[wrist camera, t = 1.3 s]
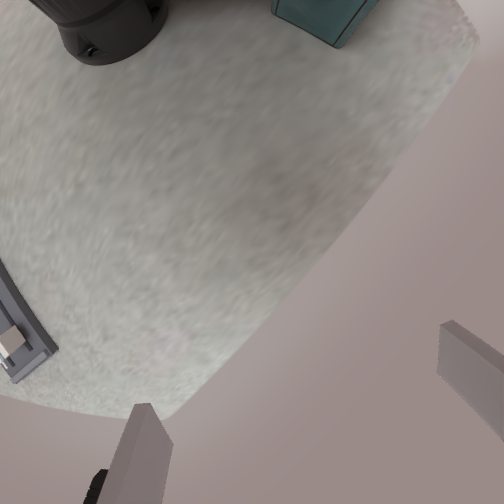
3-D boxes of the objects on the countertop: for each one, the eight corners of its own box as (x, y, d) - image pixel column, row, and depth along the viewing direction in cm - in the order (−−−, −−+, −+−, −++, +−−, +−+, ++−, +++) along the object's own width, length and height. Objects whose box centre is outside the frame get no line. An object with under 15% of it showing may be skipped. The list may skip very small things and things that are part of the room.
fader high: (8, 332, 34) (-14, 349, 28) (19, 321, 34) (-4, 337, 28) (19, 348, 35) (-2, 365, 29) (30, 337, 34) (8, 355, 28)
